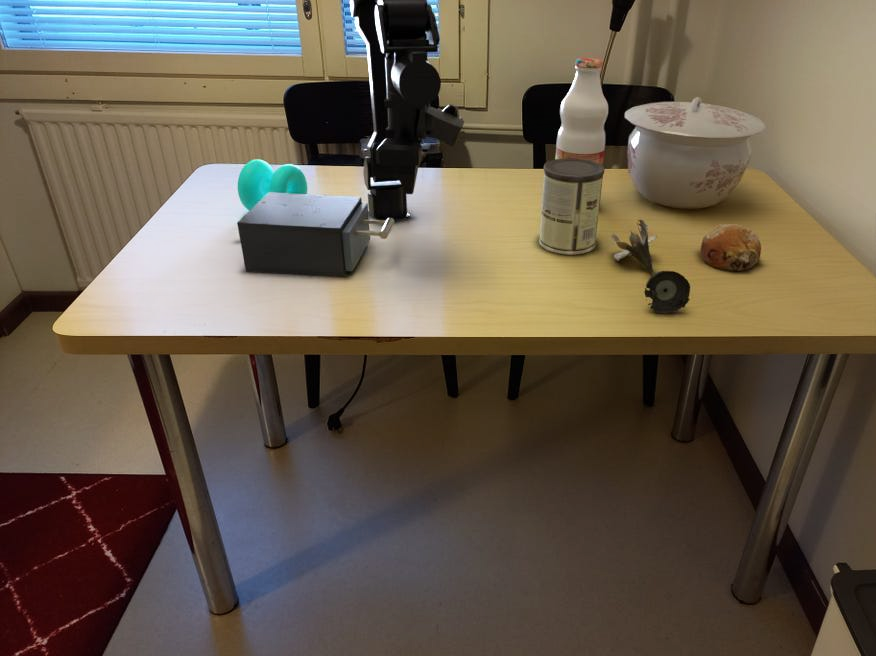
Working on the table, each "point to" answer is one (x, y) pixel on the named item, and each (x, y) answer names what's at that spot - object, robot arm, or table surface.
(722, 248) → the bread roll
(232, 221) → the table surface
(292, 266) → the black drawer cabinet
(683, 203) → the chamber pot
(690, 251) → the table surface
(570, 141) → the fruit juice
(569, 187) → the coffee can
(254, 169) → the donuts
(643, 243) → the artificial flower
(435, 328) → the table surface
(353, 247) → the drawer
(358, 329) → the table surface
